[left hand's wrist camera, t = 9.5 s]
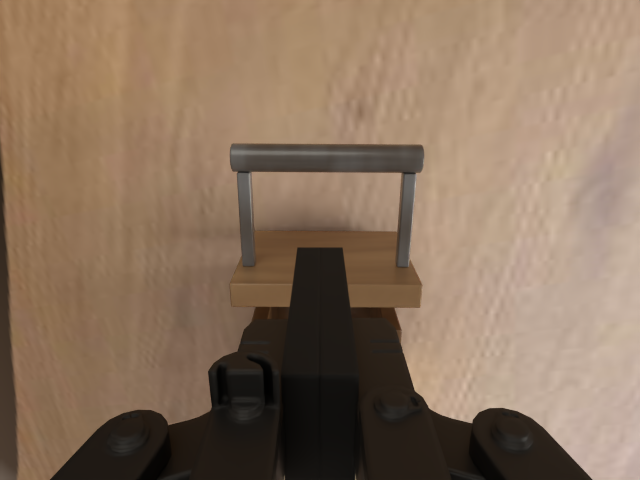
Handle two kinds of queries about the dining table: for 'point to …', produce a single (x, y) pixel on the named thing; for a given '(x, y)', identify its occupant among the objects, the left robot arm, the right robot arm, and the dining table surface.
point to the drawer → (327, 232)
